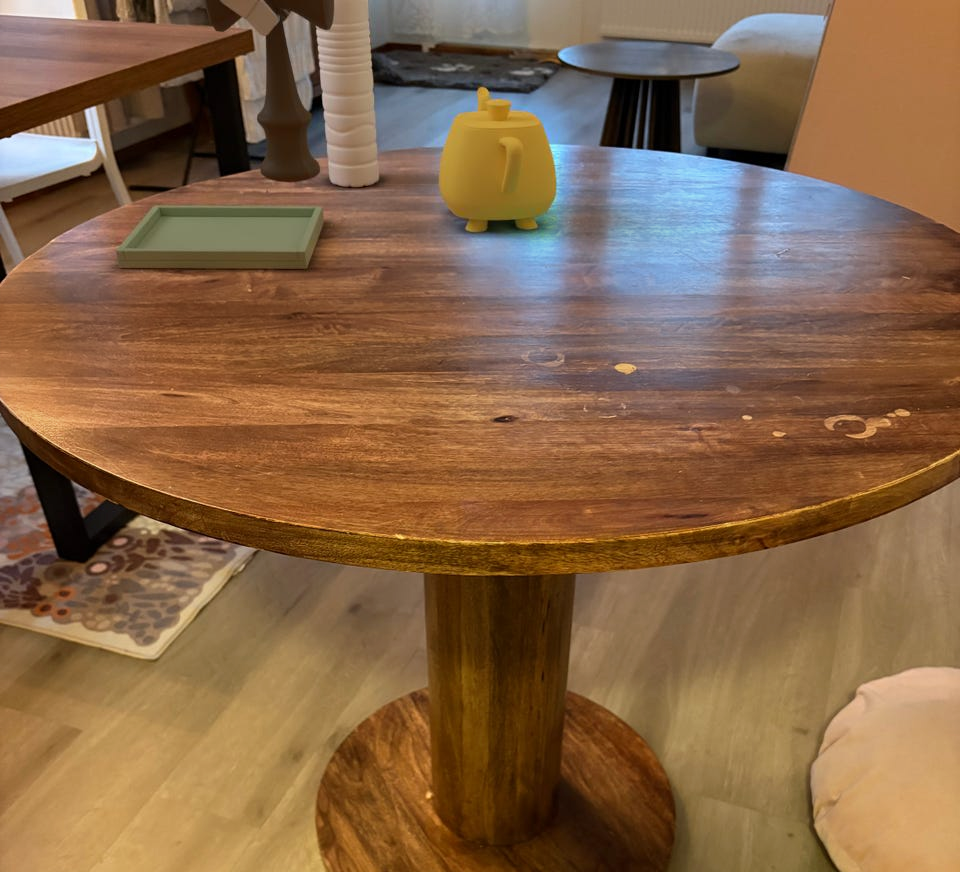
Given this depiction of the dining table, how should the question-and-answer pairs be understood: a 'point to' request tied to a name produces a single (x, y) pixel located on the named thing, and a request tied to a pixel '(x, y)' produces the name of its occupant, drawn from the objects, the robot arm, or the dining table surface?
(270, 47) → the kendama
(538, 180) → the teapot
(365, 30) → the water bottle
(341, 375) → the dining table surface
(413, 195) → the dining table surface
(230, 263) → the serving tray
